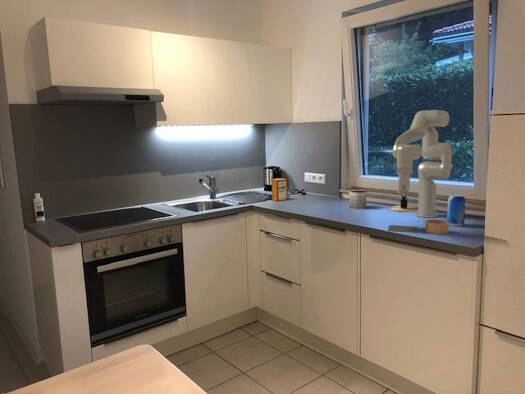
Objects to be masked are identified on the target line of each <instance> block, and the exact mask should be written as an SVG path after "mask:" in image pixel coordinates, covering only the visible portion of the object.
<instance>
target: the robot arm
mask: <svg viewBox="0 0 525 394" xmlns="http://www.w3.org/2000/svg"><path fill="white" fill-rule="evenodd" d="M449 122H450V115H449V112H448V111H446V110H440V109H431V110H429V109H428V110H420V111H418V112H416V113H415V114H414V118H413V120H412V123H411V125H410V127H409V129H408V130H407V131H404V132H403V133H402V134H400V135H399V136H398V137H397V138H396V141H395V142H394V145H393V148H392V156H393V158H394V159H396V174H397V175H398V182H397V184H398V186H397V187H398V188H397V189H398V190H397V192H398V194H397V195H400V206H401V208H407V206H408V202H409V201H408V194H409V192H410V185H411V184H410V183H411V181H410V180H411V175H413V170H414V169H413V164H414V163H413V161H414V160H419V159H420V158H421V157H422V159H425V160H437V161H423V162H420V163H419V164H418V166H417V173H418V175H417V176H418V202H417V203H418V204H417V205H418V206H417V207H418V208H417V211H415V213H414V214H415V216H416V217H419V218H437V217H438V216H439V214H438V213H437V212H436V207H437V206H436V204H437V184H436V182H435V181H434V180H438V179H440V180H448V178H450V175H451V171H452V152H453V151H452V147H451V145H450V144H449V143H448V142H439V133H438V131H437V129H436V128H442V127H443V128H444V127H445V128H446V126H448V125H449ZM420 140H421V141H422V142H421V145H420V144H412V143H413V142H417V141H420ZM438 160H441V161H438Z"/></svg>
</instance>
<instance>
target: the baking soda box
mask: <svg viewBox="0 0 525 394" xmlns="http://www.w3.org/2000/svg"><path fill="white" fill-rule="evenodd" d="M271 201H272V202H278V203H279V202H285V201H288V179H287V178H283V177H282V178H274V179H273V178H272V179H271Z"/></svg>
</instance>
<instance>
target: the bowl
mask: <svg viewBox="0 0 525 394" xmlns="http://www.w3.org/2000/svg"><path fill="white" fill-rule="evenodd" d="M449 229H450V225H449V222H448V221H447V220H445V219H435V218H432V219H426V220H424V232H426V233H429V234H433V235H434V234H435V235H436V234H437V235H445V234H448V233H449V232H450V231H449Z"/></svg>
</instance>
